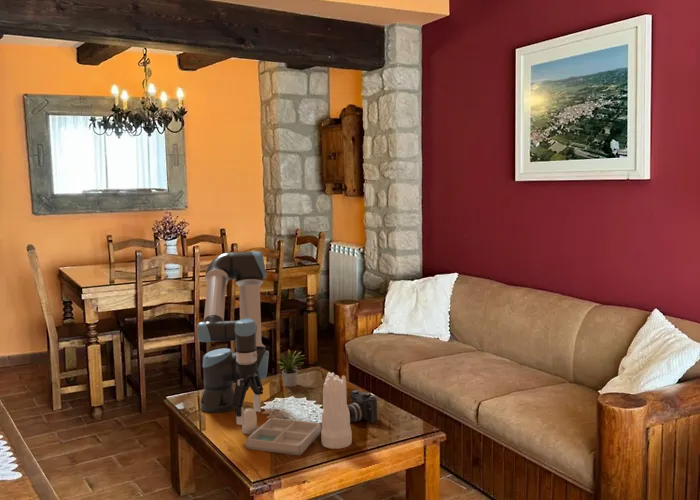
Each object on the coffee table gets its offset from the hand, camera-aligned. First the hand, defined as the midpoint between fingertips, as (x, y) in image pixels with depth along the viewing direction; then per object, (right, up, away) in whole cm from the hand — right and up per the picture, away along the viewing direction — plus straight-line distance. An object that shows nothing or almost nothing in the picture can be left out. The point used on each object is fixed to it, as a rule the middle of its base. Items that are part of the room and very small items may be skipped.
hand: (249, 417), depth 248 cm
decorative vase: (+33, -6, -10) cm, 35 cm away
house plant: (+11, +1, +51) cm, 52 cm away
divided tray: (+14, -6, -8) cm, 17 cm away
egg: (0, -5, +1) cm, 5 cm away
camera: (+41, -3, +11) cm, 42 cm away
